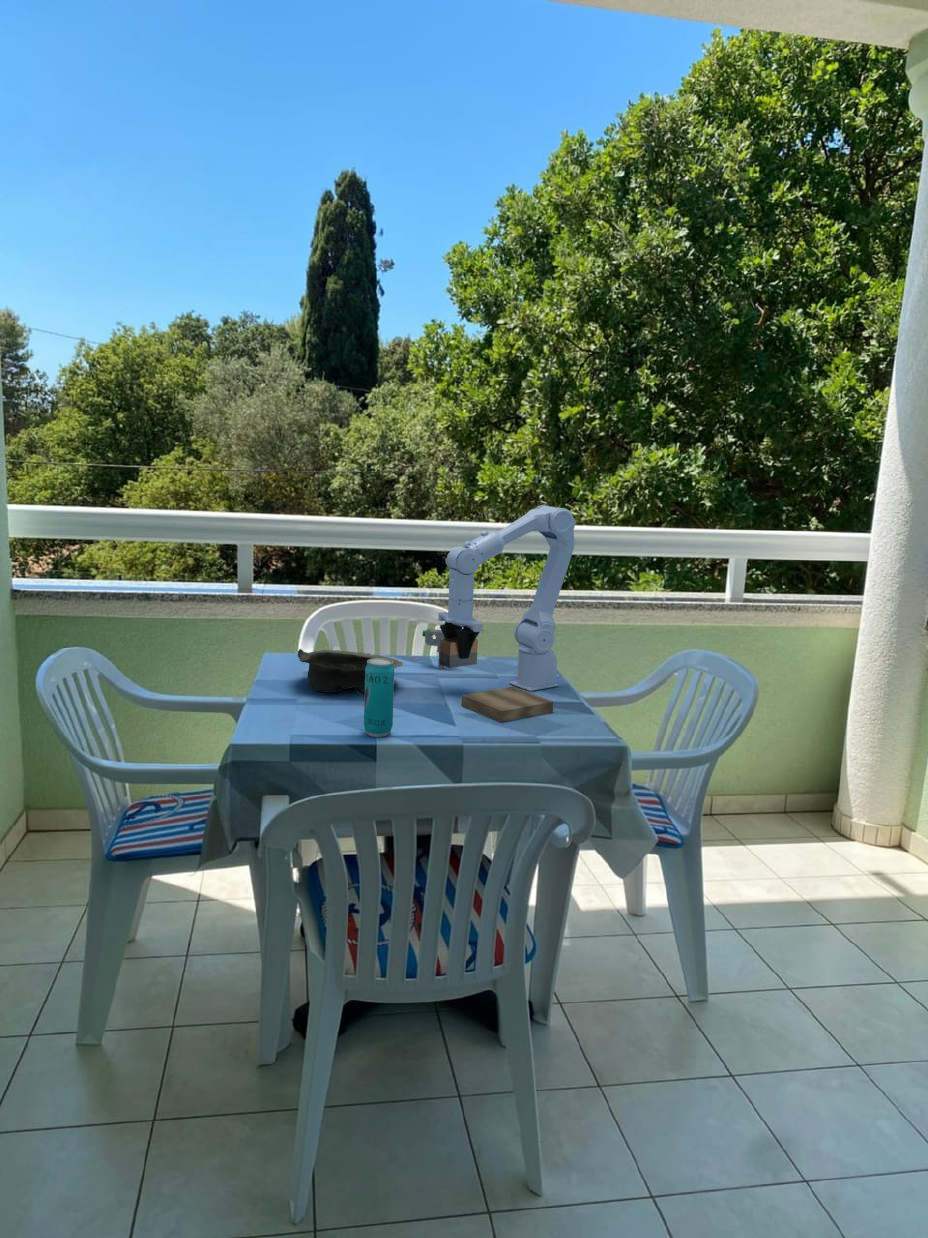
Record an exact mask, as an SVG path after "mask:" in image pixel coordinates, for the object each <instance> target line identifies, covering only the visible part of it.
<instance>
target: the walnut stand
mask: <svg viewBox="0 0 928 1238" xmlns="http://www.w3.org/2000/svg"><path fill="white" fill-rule="evenodd" d="M461 706H462V707H463V708H466V709H468V710H471V711H472V712H476V713H478V714H480V715H482V716H485V717H487V718H489V719H492V720H494V721H496V722H498V723H505V722H510V721H516V720H521V719H525V718H531V717H536V716H541V715H545V714H551V713H554V700H550V699H548V698H546V697H542V696H540V695H537V694H534V693H532V692H530V691H528V690H525V689H522V688H519V687H517V686H514V685H513V686H507V687H501V688H494V689H489V690H485V691H478V692H471V693H468V694H466V693H465V694H461ZM550 712H551V713H550Z"/></svg>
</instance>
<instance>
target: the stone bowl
mask: <svg viewBox="0 0 928 1238" xmlns="http://www.w3.org/2000/svg"><path fill="white" fill-rule="evenodd" d="M297 657H298V659H299V660H298V662H301V663H306V664H308V670H307V680H308V682H309V686H310V688H311V689H312V690H314V691H316V692H320V693H321V692H325V693H338V692H341V691H342V690H343V689H345V690H347V689H351V688H354V690H355V693H358V694H360V695H365V668H366V666H367V660H369V659H374V658H384V659H389V660H392V661H393V667H394V670H395V669H397V668H400V667H403V665H404V662H402V661H400V660H398V659H395V658H390V657H388V656H385V655H380V654H371V653H366V652H358V651H346V650H339V649H338V650H337V649H335V650H333V649H323V650H315V651H310V652H307V651H304V650H303V649H301V648H299V649H298V650H297Z"/></svg>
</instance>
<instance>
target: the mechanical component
mask: <svg viewBox="0 0 928 1238" xmlns="http://www.w3.org/2000/svg"><path fill="white" fill-rule="evenodd" d="M432 636H435V638H433V637H432ZM422 637H424V639H425V640H424V642H425V644H426V645H427V646H431V647H437V650H436V652H437V653H438V660H437V661H438V662H437V663H438V667H437V668H438V670H441V669H442V670H444V669H445V666H443V665H440V664H439V660H440V639H445V637H444V635H443V632H442V630H441V629H433V628H427V629H426V630H422Z"/></svg>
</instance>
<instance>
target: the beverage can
mask: <svg viewBox="0 0 928 1238" xmlns="http://www.w3.org/2000/svg"><path fill="white" fill-rule="evenodd" d="M394 688H395V669H394V667H393V661H392V660H389V659H384V658H374V659H369V660H367V666H366V668H365V694H364V702H363V703H364V707H363V709H364V710H363V727H364V730H365V733H366V734H367V735H368V736H370V737H374V738H383V737H387V736H389V735H390V733H391V730H392V729H393V724H394V718H393V717H394V696H395V695H394V692H395V691H394V690H395V689H394Z"/></svg>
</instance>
